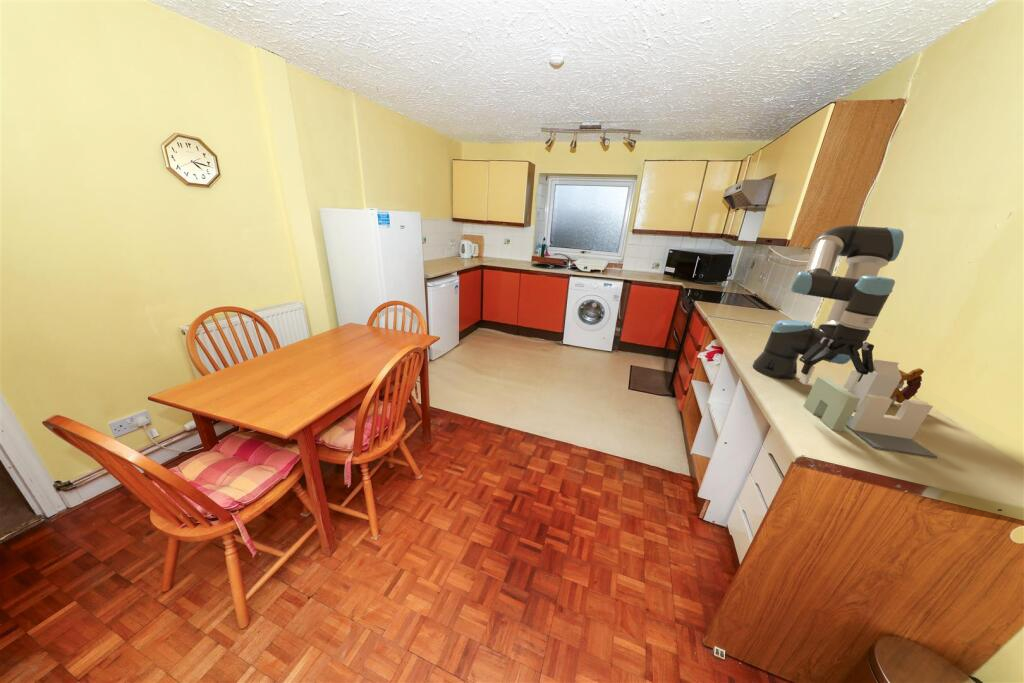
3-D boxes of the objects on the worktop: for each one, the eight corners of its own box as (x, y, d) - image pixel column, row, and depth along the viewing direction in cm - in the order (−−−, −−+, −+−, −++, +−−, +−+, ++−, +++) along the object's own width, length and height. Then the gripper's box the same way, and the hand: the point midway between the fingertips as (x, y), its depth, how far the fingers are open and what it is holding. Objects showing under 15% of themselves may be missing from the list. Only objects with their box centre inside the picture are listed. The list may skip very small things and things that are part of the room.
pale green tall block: (803, 406, 116) (817, 376, 111) (812, 407, 115) (827, 377, 111) (831, 430, 103) (849, 397, 98) (842, 431, 102) (860, 398, 98)
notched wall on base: (873, 448, 95) (895, 412, 91) (829, 414, 112) (846, 381, 107) (937, 458, 93) (962, 421, 89) (882, 421, 110) (901, 389, 105)
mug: (845, 389, 132) (863, 355, 126) (897, 398, 127) (918, 364, 121) (862, 402, 122) (882, 366, 117) (918, 413, 117) (942, 376, 112)
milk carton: (879, 415, 113) (908, 367, 106) (856, 412, 115) (883, 363, 108) (863, 405, 120) (889, 358, 113) (841, 401, 121) (866, 355, 114)
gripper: (818, 324, 100) (791, 385, 107) (911, 335, 96) (876, 397, 104) (802, 317, 107) (778, 375, 114) (889, 328, 103) (857, 386, 111)
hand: (825, 386), depth 109 cm, fingers open, 13 cm apart
